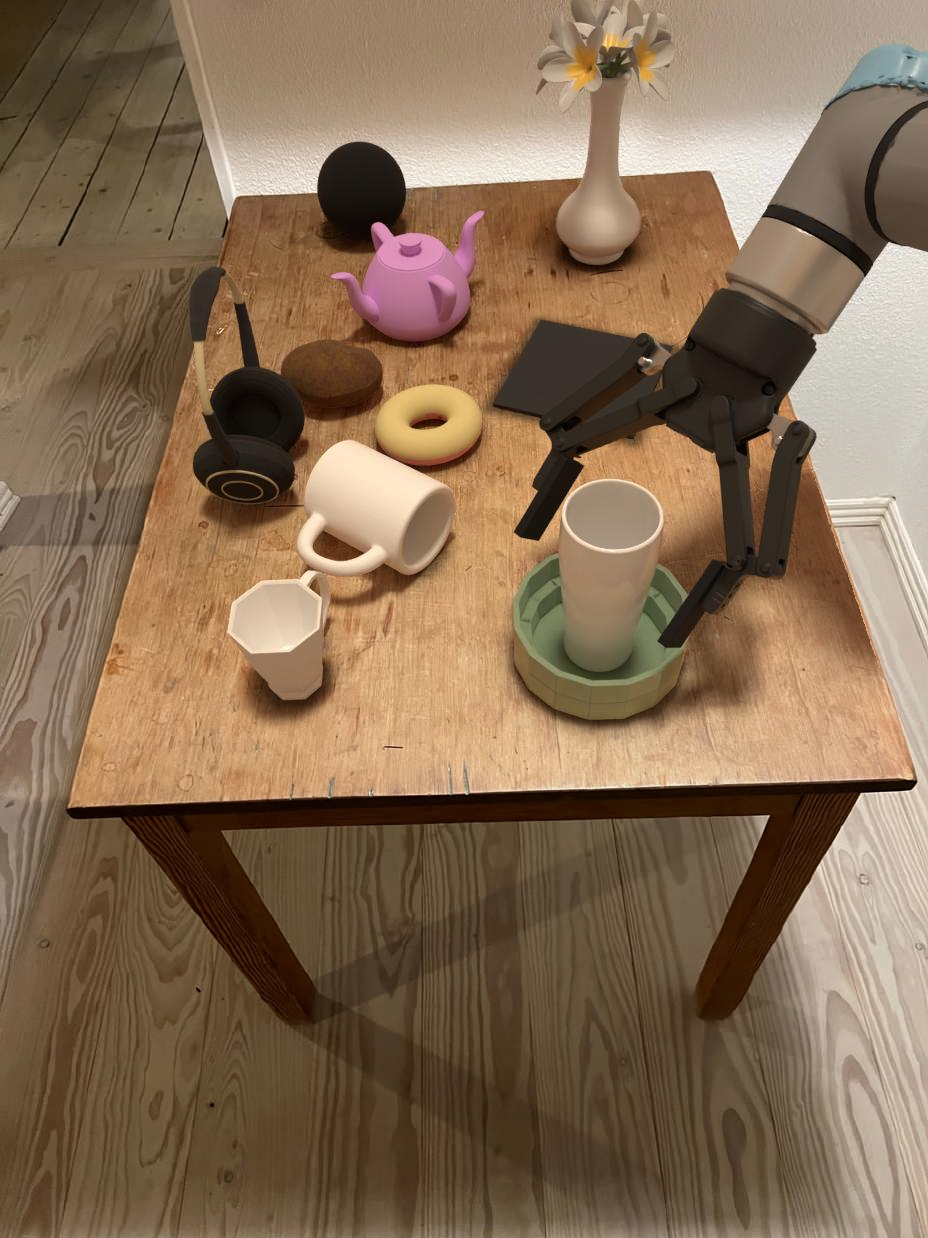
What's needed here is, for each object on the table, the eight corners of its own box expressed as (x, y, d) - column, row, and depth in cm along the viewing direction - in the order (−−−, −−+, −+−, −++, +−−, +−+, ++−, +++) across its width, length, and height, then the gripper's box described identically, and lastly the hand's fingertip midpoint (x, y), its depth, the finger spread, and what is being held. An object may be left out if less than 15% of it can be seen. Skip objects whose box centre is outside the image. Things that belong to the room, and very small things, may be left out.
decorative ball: (321, 215, 113) (306, 131, 105) (403, 203, 114) (394, 119, 106) (329, 261, 107) (314, 175, 99) (415, 248, 108) (407, 162, 100)
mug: (370, 488, 85) (358, 420, 79) (459, 533, 81) (454, 466, 75) (280, 573, 80) (259, 508, 73) (371, 626, 76) (358, 562, 69)
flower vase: (654, 205, 111) (683, -41, 91) (648, 298, 100) (680, 41, 80) (544, 201, 113) (549, -42, 93) (526, 292, 102) (528, 39, 82)
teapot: (487, 284, 103) (484, 208, 96) (453, 364, 95) (447, 286, 88) (384, 272, 105) (374, 196, 98) (342, 348, 97) (328, 272, 90)
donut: (488, 473, 89) (464, 399, 93) (497, 440, 85) (471, 365, 89) (384, 484, 86) (364, 408, 90) (388, 451, 82) (367, 373, 87)
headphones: (200, 535, 83) (123, 345, 67) (229, 422, 91) (167, 230, 76) (297, 534, 82) (243, 342, 66) (316, 420, 91) (273, 226, 75)
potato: (385, 417, 91) (378, 364, 86) (284, 425, 91) (270, 372, 86) (384, 373, 95) (377, 320, 90) (287, 381, 95) (274, 328, 90)
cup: (234, 700, 72) (206, 639, 66) (295, 603, 78) (274, 537, 71) (316, 727, 70) (295, 667, 64) (372, 626, 76) (358, 560, 69)
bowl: (700, 610, 75) (710, 570, 71) (656, 745, 68) (665, 708, 64) (545, 568, 78) (546, 527, 75) (489, 691, 71) (487, 654, 67)
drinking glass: (542, 670, 72) (547, 539, 60) (567, 603, 76) (576, 467, 64) (629, 694, 70) (652, 563, 58) (650, 624, 74) (676, 488, 62)
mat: (672, 349, 95) (672, 345, 95) (633, 438, 87) (633, 435, 87) (540, 322, 99) (540, 319, 98) (492, 406, 91) (492, 403, 91)
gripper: (957, 416, 57) (754, 693, 64) (644, 255, 69) (499, 503, 75) (940, 388, 51) (718, 698, 58) (600, 216, 63) (446, 490, 69)
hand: (593, 588), depth 66 cm, fingers open, 13 cm apart
